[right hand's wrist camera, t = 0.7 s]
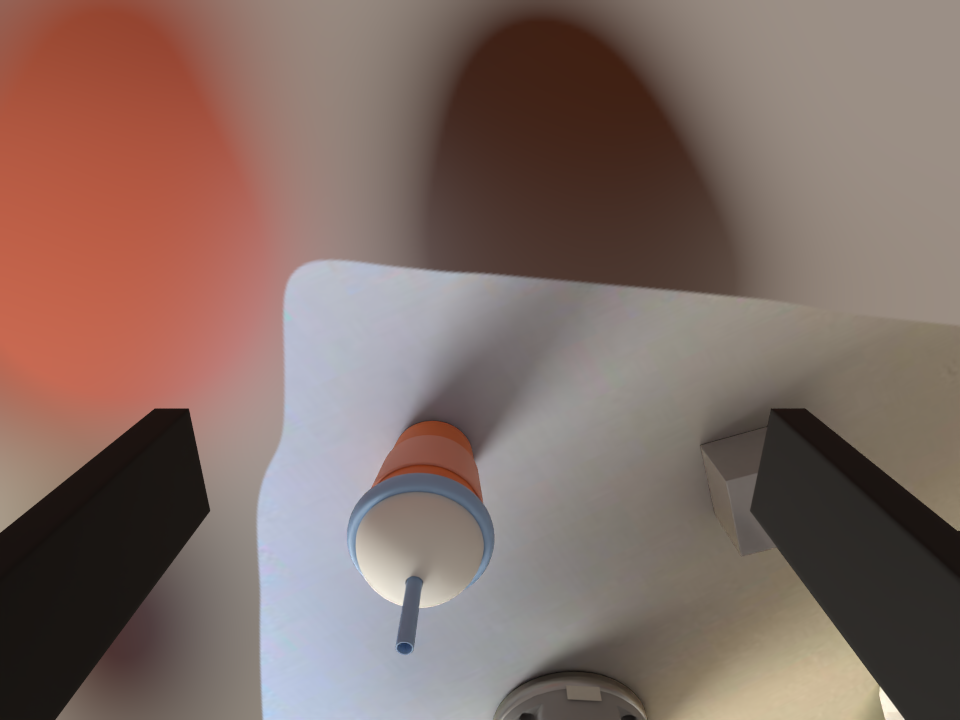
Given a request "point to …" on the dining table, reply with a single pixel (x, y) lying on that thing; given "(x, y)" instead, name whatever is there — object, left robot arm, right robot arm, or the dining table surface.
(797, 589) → the dining table surface
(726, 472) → the matte grey square block
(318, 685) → the dining table surface
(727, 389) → the dining table surface
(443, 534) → the cup with straw
